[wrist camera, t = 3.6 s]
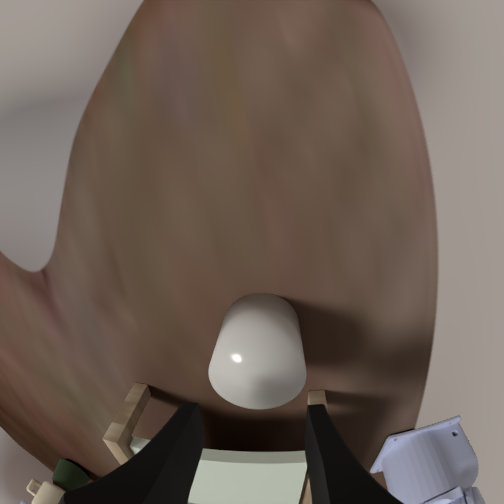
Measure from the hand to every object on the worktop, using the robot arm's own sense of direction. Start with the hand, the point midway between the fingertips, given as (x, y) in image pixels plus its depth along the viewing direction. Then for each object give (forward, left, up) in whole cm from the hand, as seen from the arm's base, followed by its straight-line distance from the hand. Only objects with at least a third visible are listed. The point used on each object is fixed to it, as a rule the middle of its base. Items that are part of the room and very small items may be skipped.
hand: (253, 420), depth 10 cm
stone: (0, 0, -8) cm, 8 cm away
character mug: (+33, +33, -8) cm, 47 cm away
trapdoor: (+3, +13, -3) cm, 14 cm away
